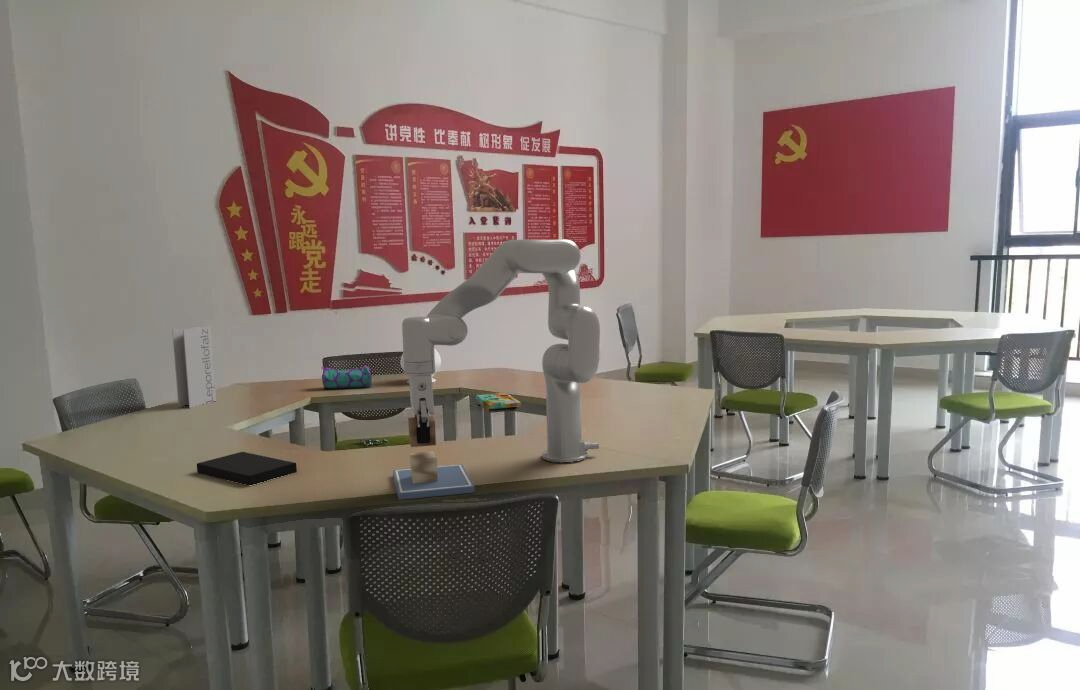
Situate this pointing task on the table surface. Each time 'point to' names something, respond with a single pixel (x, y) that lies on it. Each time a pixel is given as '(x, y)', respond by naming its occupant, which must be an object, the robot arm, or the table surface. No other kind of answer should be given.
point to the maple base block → (423, 467)
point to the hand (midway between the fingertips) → (422, 439)
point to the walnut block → (413, 433)
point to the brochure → (194, 366)
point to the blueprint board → (434, 483)
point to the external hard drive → (246, 468)
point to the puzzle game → (498, 402)
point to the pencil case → (347, 378)
